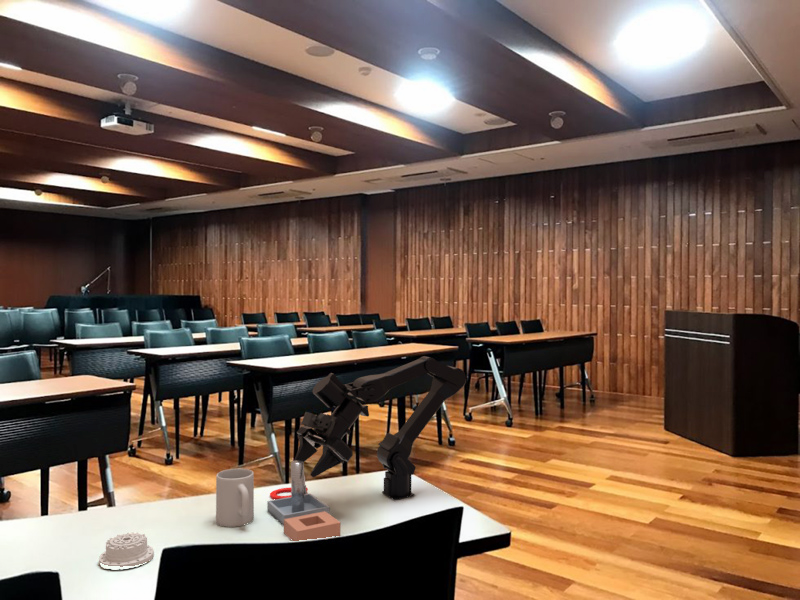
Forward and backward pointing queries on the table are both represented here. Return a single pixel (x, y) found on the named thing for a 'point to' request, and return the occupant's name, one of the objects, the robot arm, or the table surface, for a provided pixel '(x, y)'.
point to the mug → (234, 497)
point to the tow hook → (275, 492)
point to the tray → (284, 507)
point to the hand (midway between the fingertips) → (302, 471)
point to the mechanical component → (127, 550)
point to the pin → (297, 485)
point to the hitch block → (311, 526)
